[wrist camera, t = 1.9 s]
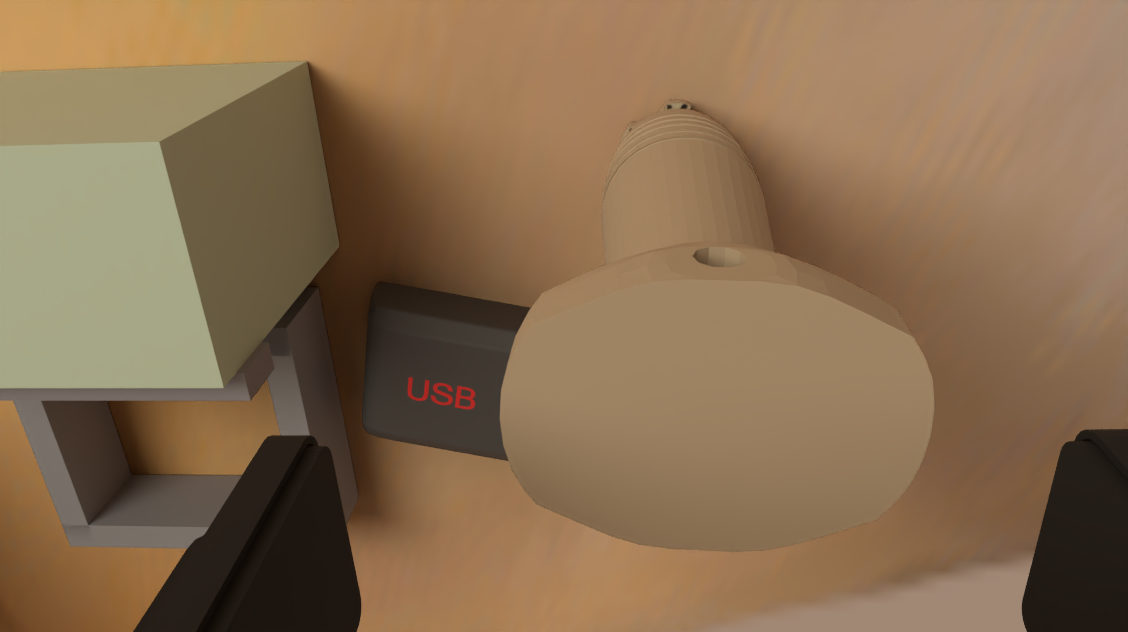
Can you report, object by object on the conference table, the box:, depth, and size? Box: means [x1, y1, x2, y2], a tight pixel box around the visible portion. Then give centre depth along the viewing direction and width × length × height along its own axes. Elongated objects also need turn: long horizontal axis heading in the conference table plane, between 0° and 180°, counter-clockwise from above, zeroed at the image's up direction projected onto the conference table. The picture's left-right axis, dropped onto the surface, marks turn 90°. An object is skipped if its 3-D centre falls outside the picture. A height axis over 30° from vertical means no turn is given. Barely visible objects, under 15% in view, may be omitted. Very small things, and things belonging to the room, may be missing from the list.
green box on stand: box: [0, 61, 359, 548], centre depth 26 cm, size 12×16×9 cm
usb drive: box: [362, 282, 531, 461], centre depth 29 cm, size 5×12×3 cm, turn 81°
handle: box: [500, 99, 935, 552], centre depth 20 cm, size 5×6×15 cm
